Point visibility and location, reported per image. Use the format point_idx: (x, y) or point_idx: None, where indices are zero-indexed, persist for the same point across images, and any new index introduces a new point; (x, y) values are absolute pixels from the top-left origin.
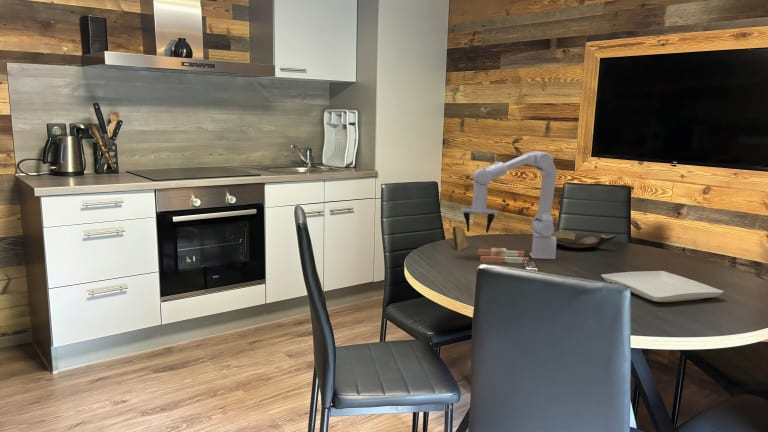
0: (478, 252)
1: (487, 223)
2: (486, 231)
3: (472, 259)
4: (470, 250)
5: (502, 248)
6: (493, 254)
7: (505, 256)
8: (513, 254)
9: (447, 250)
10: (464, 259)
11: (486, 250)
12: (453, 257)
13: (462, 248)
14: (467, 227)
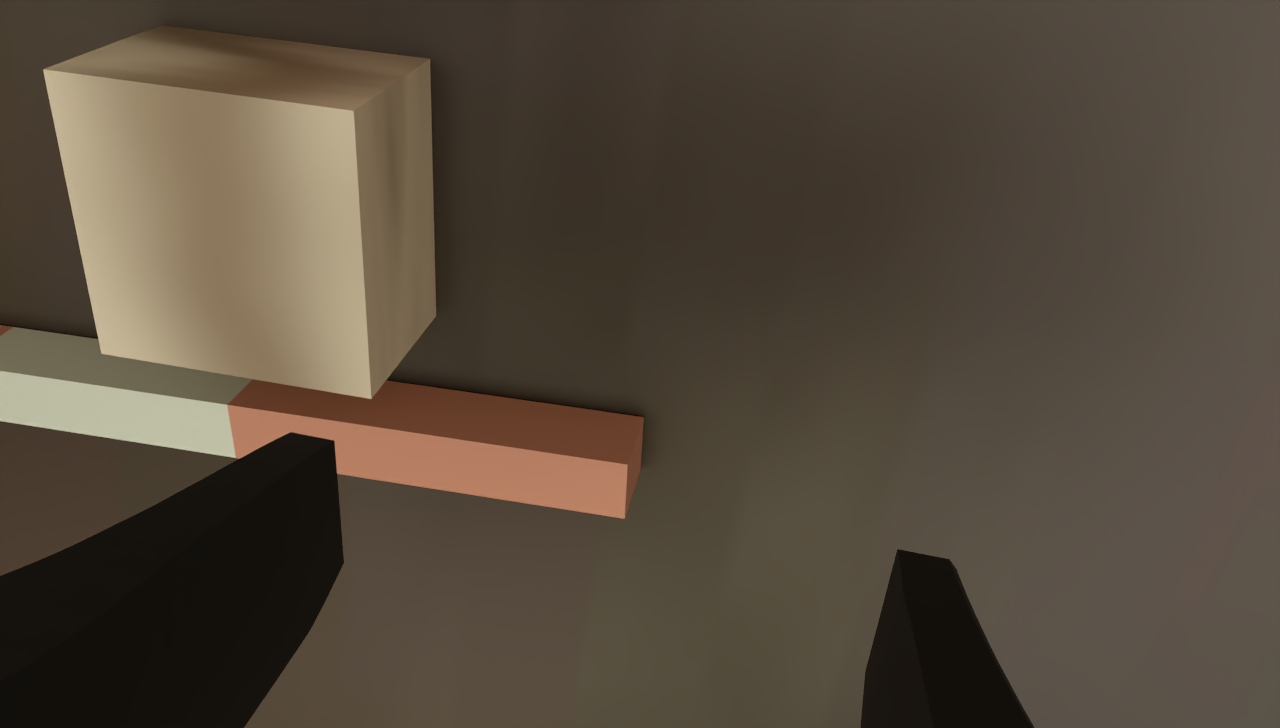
0: (633, 440)
1: (146, 685)
2: (316, 469)
3: (818, 83)
4: (726, 679)
5: (162, 337)
6: (363, 86)
7: (145, 47)
8: (61, 351)
9: (1129, 701)
10: (995, 73)
11: (481, 450)
12: (1194, 233)
13: None
14: (986, 646)
